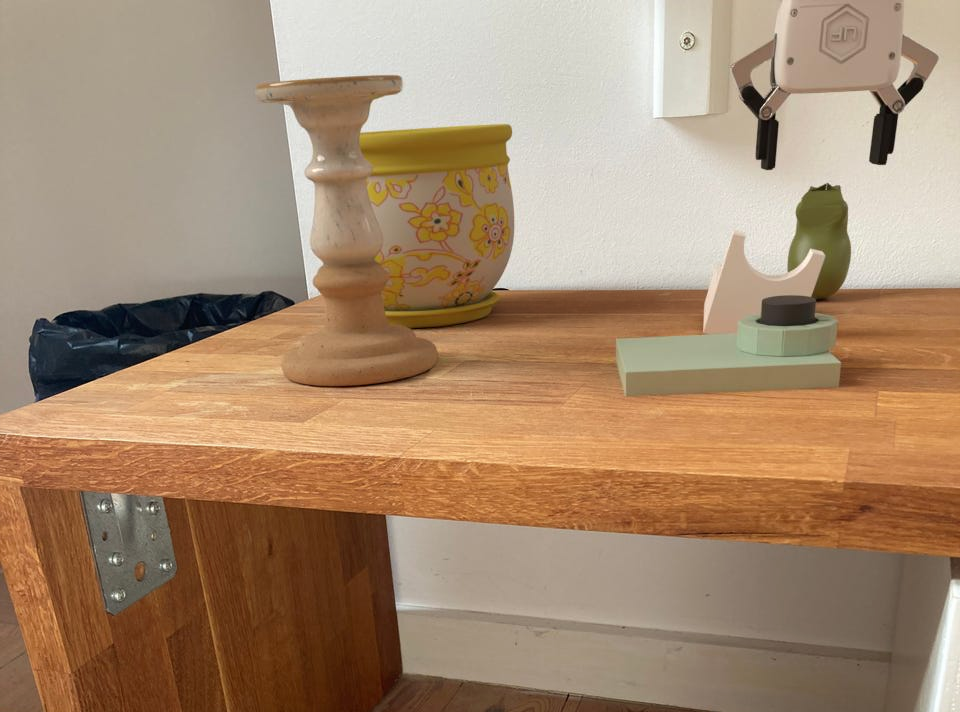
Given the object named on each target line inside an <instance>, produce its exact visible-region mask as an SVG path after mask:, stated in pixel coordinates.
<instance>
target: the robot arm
mask: <svg viewBox="0 0 960 712" xmlns="http://www.w3.org/2000/svg"><path fill="white" fill-rule="evenodd" d="M904 12H905V0H778V7H777V14H776V19H775V26H774V33H773V39H771V40H769V41H767V42H766V43H764V44H763V45H761V46H760V47H757V48H756V49H755V50H753V51H751V52H749V53H748V54H746V55H745V56H743V57H742V58H740V59H738V60H737V61H735V62H733V63H732V64H730V67H729V74H730V76H731V79H732V81H733V83H734V86H735V89H736V90H737V93H738V97H739V99H740V100H741V101H742V102H743V104H744V105H745V106H746V107H747V108H748V110H749V111H750V112H751V113H752V114H753V115H754V117H755V118H756V119H757V127H756V128H757V129H756V141H755V160H756V161H760V169H762V170H765V171H773V169H776V164H777V152H778V151H777V149H778V139H779V138H778V137H779V126H780V122H779V120H778V119H776V115H777V111H778V110H779V109H780V107H781V106H782V105H783V104H784V102H785V101H786V100H787V99H788V98H789V97H790V96H791V95H793V94H794V95H795V94H796V95H799V94H800V95H801V94H805V95H806V94H823V93H824V94H826V93H846V92H848V93H849V92H865V91H866V92H867V91H869V93H870V94H871V96H872V97H873V99H874V100H875V102H876V104H877V105H878V106H879V112H878V113H876V115H874V117H873V124H872V131H871V141H870V149H869V158H868V159H869V160H868V162H869V163H871V164H872V165H877V166H886V165H887V163H888V156H889V155H892V154H893V153H894V151H895V143H896V136H897V128H898V120H899V114H901V113H902V112H903V111H905V107H907V106H908V104H909V103H910V102H912V100H913V99H914V98H915V97H916V96H917V95H918V94H919V93H920V92H921V91H922V90H923V88H924V87H925V86H924V85H925V83H926V81H928V79H929V77H930V76H931V74H932V72H933V70H934V69H935V67H936V65H937V64H938V62H939V58H940V57H939V54H938V53H937V52H936V51H934V50H932V49H930V48H929V47H927V46H925V45H923V44H921V43H920V42H918V41H916V40H915V39H913V38H912V37H909V36H908V35H906V34H904V32H903V31H904V15H905V13H904ZM901 58H905V59H907V60H908V61H909V62H911V63H912V65H913V68H912V70H911V72H910V74H909V76H908V78H907V79H906V80H905V81H904V82H903V83H902V84H901V85H900V86H899V87H898V88H897V87H896V86H895V84H894V83H895V82H896V80H897V78H898V76H899V72H900V68H901V67H900V66H901ZM768 61H770V62H769V63H770V64H769V65H770V66H769V84H770V87H771V88H769V90H768V92H766V93H765V96H762V94H760V92H759V91H758V90H757V89H756V88H755V85H754V84H753V80H752V78H751V74H752V72H753V71H754V70H755V69H757V68H758V67H760V66H761V65H764V64H765V63H766V62H768Z"/></svg>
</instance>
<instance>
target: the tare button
mask: <svg viewBox="0 0 960 712" xmlns="http://www.w3.org/2000/svg"><path fill="white" fill-rule="evenodd" d="M816 306H817V299H815V298H813V297H809V296H799V295H784V296H773V297H768V298H765V299H763V300H762V306H761V321H760V324H764V325H769V326H803V325H809V324H814V320H815V313H816V308H817V307H816Z"/></svg>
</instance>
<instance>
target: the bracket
mask: <svg viewBox="0 0 960 712" xmlns="http://www.w3.org/2000/svg"><path fill="white" fill-rule="evenodd" d="M745 240H746V232H744V231H739V230H735V229H732V230H731V234H730V238H729V241H728V245H727V248H726V250H725V254H724V257H723V259H722V260H723V261H722V263H721V264H720V263H715V267H714V270H713V273H712V277H711V280H710V284H709V286H708V289H707V294H706V297H705V300H704V303H703V327H702V329H703V331H702V333H703V334H705V335H707V334H728V333H737V327H738V320H740V319H742V318H744V317H746V316H749V315H755V314H761V306H762V300H763V299H765V298H768V297H773V296H784V295H799V296H809V297H811V296H812V293H813V290H814V287H815V284H816V282H817V279H818V276H819V273H820V270H821V267H822V264H823V262H824V259H825V254H824V253H823V252H822V251H819V250H815V249H811V248H810V250H809V253H808V255H807V256H806V258H805V259H804V261H803V262H802V263H801V264H800V265H799V266H798V267H797V268H795V269H794V270H792V271H790V272H786V273H783V274H777V275H770V274H764V273H762V272H761V271H758V270H757V269H756V268H755V267H753V266H752V265H751V264H750V262H749V261H748V259H747V257H746V255H745Z"/></svg>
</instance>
